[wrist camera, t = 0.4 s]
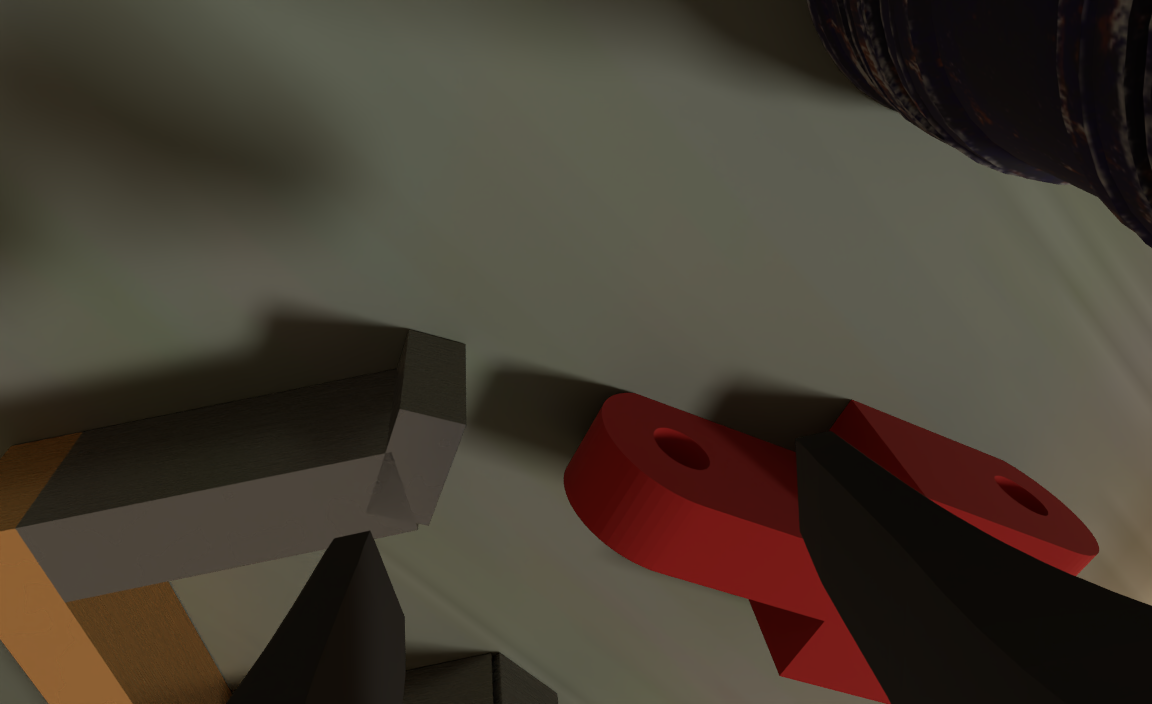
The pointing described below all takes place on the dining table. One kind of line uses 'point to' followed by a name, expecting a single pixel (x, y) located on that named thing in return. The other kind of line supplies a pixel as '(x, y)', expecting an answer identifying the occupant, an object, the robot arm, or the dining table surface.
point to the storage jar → (1014, 84)
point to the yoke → (221, 526)
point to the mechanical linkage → (786, 516)
